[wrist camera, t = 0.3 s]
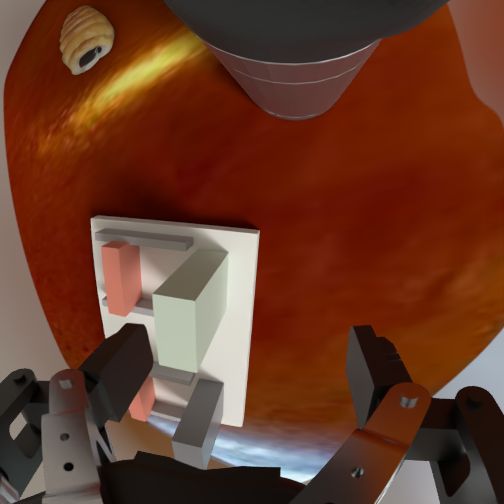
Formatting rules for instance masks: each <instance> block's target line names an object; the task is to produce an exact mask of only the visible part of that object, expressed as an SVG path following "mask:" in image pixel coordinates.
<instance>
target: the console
mask: <svg viewBox="0 0 504 504" xmlns="http://www.w3.org/2000/svg"><path fill="white" fill-rule="evenodd" d="M91 231H92V245H93V256H94V265H95V274H96V282H97V290H98V297H99V303H100V309H101V315H102V321H103V327H104V332H105V337H106V338H108V337H110V336H111V335H113V334H115V333H117V332H118V331H119V330H120V329H121V328H122V327H123V326H124V324H126V323H137V324H144V325H145V326H146V328H147V332H148V337H149V341H150V345H151V349H152V354H153V368H152V370H151V372H150V373H149V375H148V377H147V378H146V380H145V382H144V383H143V385H142V386H141V388H140V390H139V391H138V393H137V395H136V396H135V398H134V400H133V401H132V403H131V404H130V406H129V409H130V412H131V416H132V418H135V419H138V420H141V421H145V422H146V420H147V419H148V417H149V415H150V414H152V415H155V416H159V417H163V418H166V419H170V420H174V421H178V422H180V420H181V418H182V416H183V413H184V411H185V409H186V407H187V404H188V402H189V400H190V398H191V396H192V393H193V391H194V389H195V387H196V384H197V382H198V380H199V378H200V379H206V380H211V381H216V382H222V383H224V403H223V418H222V421H221V424H226V425H232V426H238V427H242V424H243V420H244V409H245V398H246V387H247V375H248V364H249V352H250V341H251V329H252V317H253V305H254V293H255V281H256V269H257V257H258V244H259V232H260V230H253V229H243V228H234V227H224V226H213V225H203V224H192V223H182V222H171V221H159V220H148V219H136V218H124V217H111V216H96V217H93V218H91ZM197 249H203V250H212V251H220V252H229V261H228V283H227V306H226V312H225V314H224V316H223V318H222V320H221V322H220V325H219V327H218V329H217V331H216V333H215V335H214V338H213V340H212V342H211V344H210V346H209V348H208V350H207V353H206V355H205V357H204V359H203V361H202V363H201V366H200V368H199V370H198V372H197V373H194V372H189V371H185V370H180V369H175V368H171V367H167V366H162V365H159V360H158V352H157V343H156V333H155V323H154V311H153V299H152V294H153V293H154V292H155V291H156V290H157V289H158V288H159V287H160V286H161V285H162V284H163V283H164V282H165V281H166V280H167V279H168V278H169V277H170V276H171V275H172V274H173V273H174V272H175V271H176V270H177V269H178V268H179V267H180V266H181V265H182V264H183V263H184V262H185V261H186V260H187V259H188V258H189V257H190V256H191V255H192V254H193V253H194V252H195V251H196V250H197Z"/></svg>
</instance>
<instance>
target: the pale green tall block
mask: <svg viewBox="0 0 504 504" xmlns="http://www.w3.org/2000/svg"><path fill="white" fill-rule="evenodd" d="M228 261H229V252H220V251H212V250H203V249H197V250H196V251H195V252H194V253H193V254H192V255H191V256H190V257H189V258H188V259H187V260H186V261H185V262H184V263H183V264H182V265H181V266H180V267H179V268H178V269H177V270H176V271H175V272H174V273H173V274H172V275H171V276H170V277H169V278H168V279H167V280H166V281H165V282H164V283H163V284H162V285H161V286H160V287H159V288H158V289H157V290H156V291H155V292H154V293H153V294H152V299H153V311H154V323H155V333H156V343H157V352H158V360H159V365H162V366H167V367H171V368H175V369H180V370H185V371H189V372H194V373H197V372H198V370H199V368H200V366H201V363H202V361H203V359H204V357H205V355H206V353H207V350H208V348H209V346H210V344H211V342H212V340H213V338H214V335H215V333H216V331H217V329H218V327H219V325H220V322H221V320H222V318H223V316H224V314H225V312H226V306H227V283H228Z"/></svg>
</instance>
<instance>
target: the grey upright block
mask: <svg viewBox="0 0 504 504" xmlns="http://www.w3.org/2000/svg"><path fill="white" fill-rule="evenodd" d="M223 403H224V383H222V382H216V381H211V380H206V379H200V378H199V380H198V382H197V384H196V387H195V389H194V391H193V393H192V396H191V398H190V400H189V402H188V404H187V407H186V409H185V411H184V413H183V416H182V418H181V420H180V422H179V425H178V427H177V429H176V431H175V434H174V436H173V438H172V446H173V451H174V456H175V460H178V461H180V462H183V463H185V464H188V465H191V466H193V467H196V468H199V469H203V470H206V468H207V465H208V462H209V459H210V456H211V453H212V450H213V446H214V443H215V440H216V437H217V434H218V430H219V427H220V424H221V421H222V418H223Z"/></svg>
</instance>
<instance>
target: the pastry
mask: <svg viewBox="0 0 504 504" xmlns="http://www.w3.org/2000/svg"><path fill="white" fill-rule="evenodd" d="M61 35H62V36H61V37H60V39H59V41H60V43H61V45H60V50H61V52H62V53H63V55H62V61H63V63H64V64H65V65H67V66H68V67H69V68H70V69H71V71H72V74H74V75H78V74H80V73H83V72H85V71H87V70H89V69H90V68H91V67H93V65H94V64H95V63H96V62H97V61H98V60H99V59H100V58H101V57H103V56H104V55H106V54H107V53H108V52H109V51H110V50H111V47H112V45H113V41H114V29H113V26H112V25H111V24H110V23H109V21H108V20H107V18H106V17H105V16H104V15H103V14H102V13H100V12H98V11H97V10H96V9H94V8H92V7H90V6H81V7H79V8H78V9H76V10H75V11H74V12H72V13H70V14H69V15H68V16H67V18H66V20H65V21H64V24H63V29H62V30H61Z"/></svg>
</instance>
